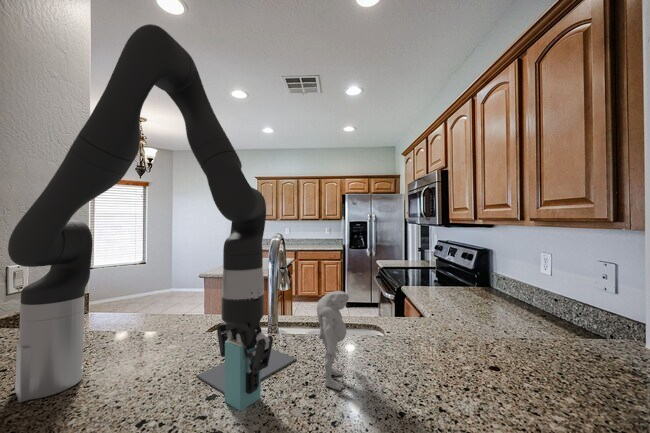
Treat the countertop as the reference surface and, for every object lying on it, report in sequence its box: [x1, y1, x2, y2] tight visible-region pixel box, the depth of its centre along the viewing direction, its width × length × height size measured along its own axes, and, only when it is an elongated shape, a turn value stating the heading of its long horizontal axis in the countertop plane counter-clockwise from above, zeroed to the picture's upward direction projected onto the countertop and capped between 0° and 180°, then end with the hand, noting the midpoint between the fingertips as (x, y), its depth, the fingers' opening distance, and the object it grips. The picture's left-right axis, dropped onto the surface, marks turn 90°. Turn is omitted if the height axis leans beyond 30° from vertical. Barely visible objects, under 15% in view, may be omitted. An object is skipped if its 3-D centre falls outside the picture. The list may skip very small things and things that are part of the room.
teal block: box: [224, 339, 262, 412], centre depth 50 cm, size 4×4×11 cm
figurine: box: [316, 290, 350, 392], centre depth 57 cm, size 18×7×18 cm, turn 1°
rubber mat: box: [196, 348, 298, 395], centre depth 62 cm, size 18×12×1 cm, turn 143°
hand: (243, 386), depth 50 cm, fingers closed on teal block, 4 cm apart
